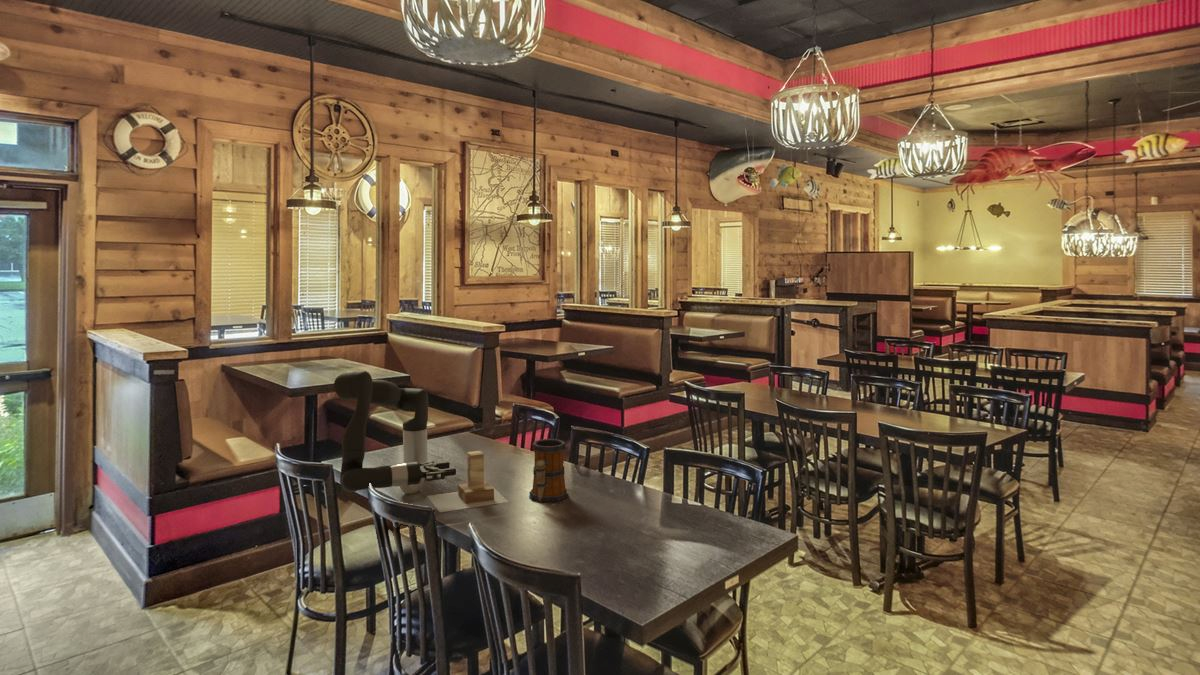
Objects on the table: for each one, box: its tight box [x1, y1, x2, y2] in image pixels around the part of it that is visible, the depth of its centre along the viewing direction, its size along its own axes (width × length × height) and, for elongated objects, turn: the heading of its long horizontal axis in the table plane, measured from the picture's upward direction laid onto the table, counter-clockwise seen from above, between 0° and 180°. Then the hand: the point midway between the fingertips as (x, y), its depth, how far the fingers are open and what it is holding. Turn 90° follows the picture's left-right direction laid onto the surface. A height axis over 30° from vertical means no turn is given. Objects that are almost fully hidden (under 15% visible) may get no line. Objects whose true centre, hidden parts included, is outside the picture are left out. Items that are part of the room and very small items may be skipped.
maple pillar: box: [466, 450, 485, 489], centre depth 241 cm, size 4×4×12 cm
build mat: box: [426, 487, 510, 513], centre depth 240 cm, size 18×24×1 cm
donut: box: [399, 478, 425, 495], centre depth 246 cm, size 10×4×10 cm, turn 142°
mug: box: [528, 438, 570, 505], centre depth 240 cm, size 19×14×20 cm
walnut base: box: [457, 480, 495, 504], centre depth 242 cm, size 10×10×4 cm
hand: (452, 468), depth 237 cm, fingers open, 8 cm apart
